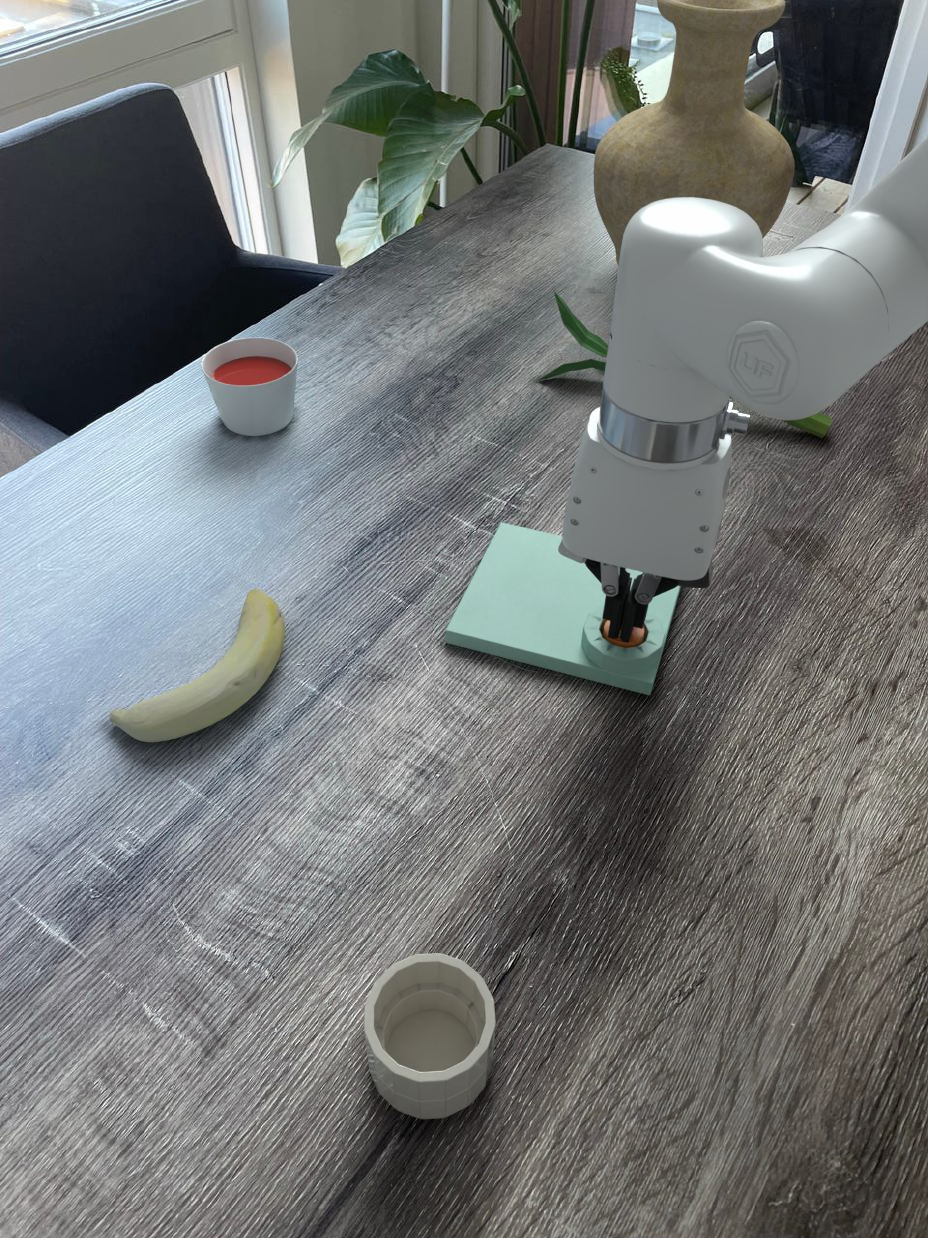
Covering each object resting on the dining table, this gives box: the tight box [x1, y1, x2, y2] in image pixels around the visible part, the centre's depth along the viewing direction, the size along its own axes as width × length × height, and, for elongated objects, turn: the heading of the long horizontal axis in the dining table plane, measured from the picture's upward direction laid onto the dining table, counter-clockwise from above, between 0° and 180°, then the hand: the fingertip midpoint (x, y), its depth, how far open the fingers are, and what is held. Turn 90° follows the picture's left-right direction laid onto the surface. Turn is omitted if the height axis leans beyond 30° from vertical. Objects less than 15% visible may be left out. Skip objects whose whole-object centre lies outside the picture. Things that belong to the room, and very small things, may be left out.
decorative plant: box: [537, 291, 834, 439], centre depth 101 cm, size 6×8×30 cm
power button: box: [602, 620, 645, 648], centre depth 74 cm, size 3×3×2 cm
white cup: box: [363, 952, 497, 1120], centre depth 52 cm, size 7×7×6 cm
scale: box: [445, 522, 682, 696], centre depth 79 cm, size 16×14×3 cm
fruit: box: [109, 588, 286, 743], centre depth 72 cm, size 7×15×3 cm, turn 145°
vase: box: [593, 0, 796, 266], centre depth 112 cm, size 22×22×30 cm
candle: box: [200, 336, 299, 437], centre depth 97 cm, size 9×9×6 cm
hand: (622, 627), depth 74 cm, fingers closed
